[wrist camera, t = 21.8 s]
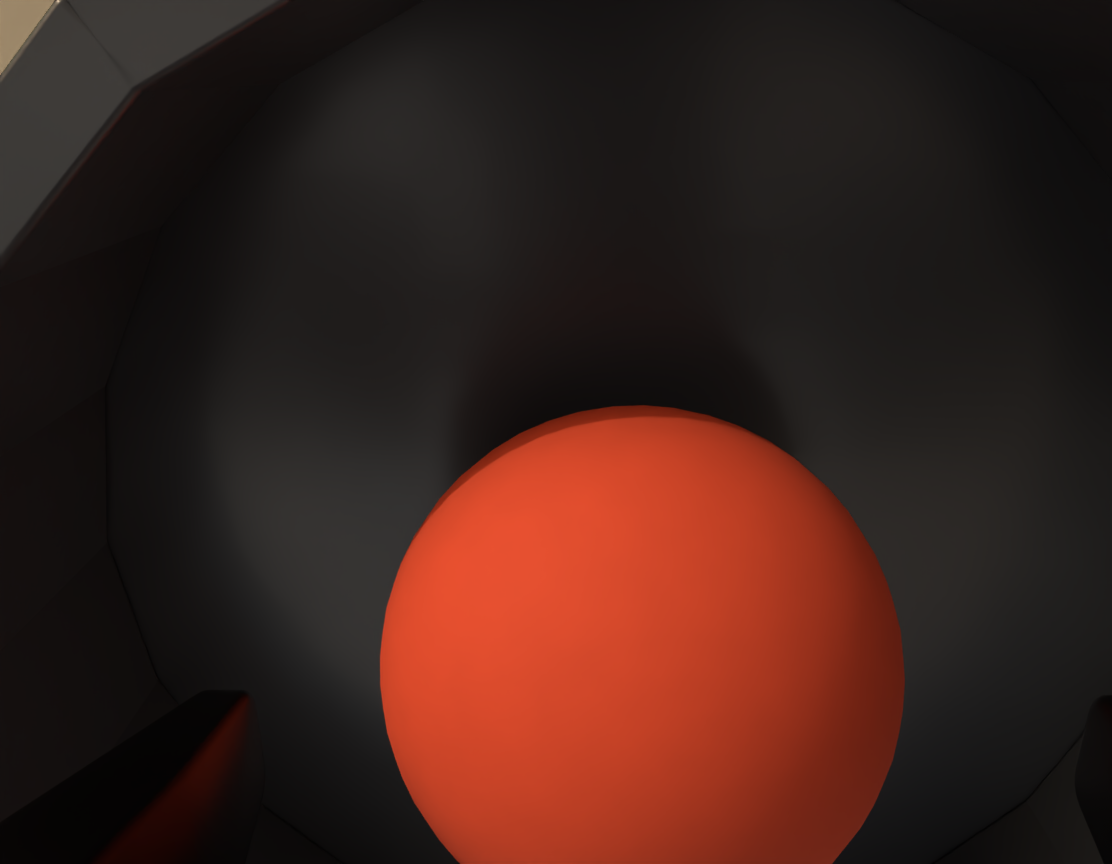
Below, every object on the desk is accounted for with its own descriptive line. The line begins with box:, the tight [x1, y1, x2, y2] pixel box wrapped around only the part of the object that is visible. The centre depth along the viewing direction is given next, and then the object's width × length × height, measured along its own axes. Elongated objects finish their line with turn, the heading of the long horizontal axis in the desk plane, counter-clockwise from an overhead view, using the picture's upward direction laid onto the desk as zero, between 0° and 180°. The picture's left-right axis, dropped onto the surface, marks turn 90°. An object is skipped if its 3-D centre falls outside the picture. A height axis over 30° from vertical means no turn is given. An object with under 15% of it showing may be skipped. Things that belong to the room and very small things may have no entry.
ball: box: [380, 405, 905, 864], centre depth 10 cm, size 5×5×5 cm
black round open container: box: [0, 0, 1112, 864], centre depth 10 cm, size 15×15×4 cm
